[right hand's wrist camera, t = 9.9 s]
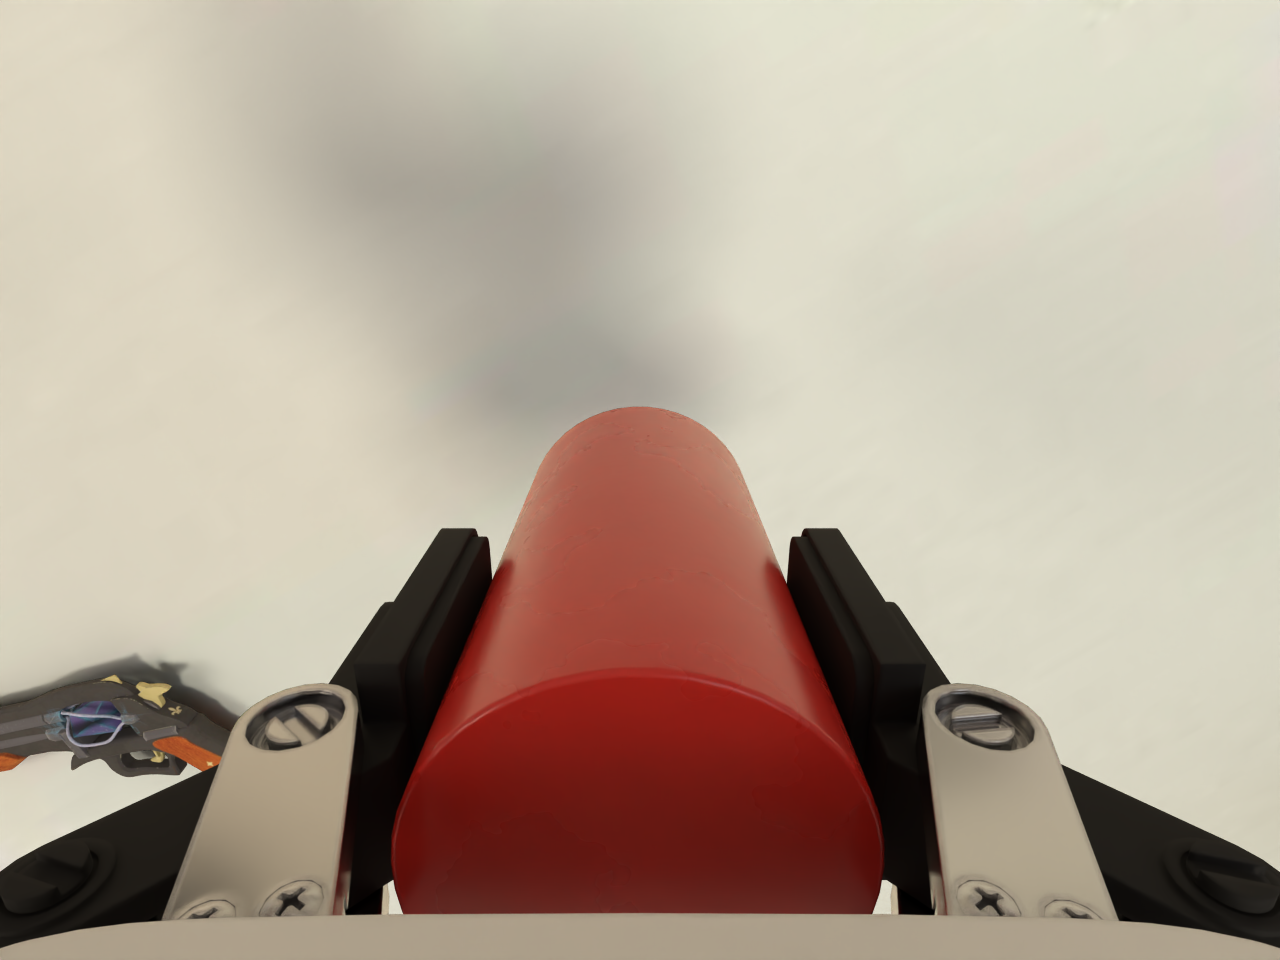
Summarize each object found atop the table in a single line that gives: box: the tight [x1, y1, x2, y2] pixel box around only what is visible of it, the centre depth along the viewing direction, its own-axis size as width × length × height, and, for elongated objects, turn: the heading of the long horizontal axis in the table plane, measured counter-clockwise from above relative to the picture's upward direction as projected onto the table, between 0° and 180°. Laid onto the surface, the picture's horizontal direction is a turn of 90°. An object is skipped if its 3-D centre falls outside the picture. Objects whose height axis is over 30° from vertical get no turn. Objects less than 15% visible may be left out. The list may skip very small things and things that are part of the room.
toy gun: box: [0, 675, 231, 777], centre depth 39 cm, size 3×19×10 cm
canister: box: [391, 407, 884, 914], centre depth 12 cm, size 5×5×10 cm
